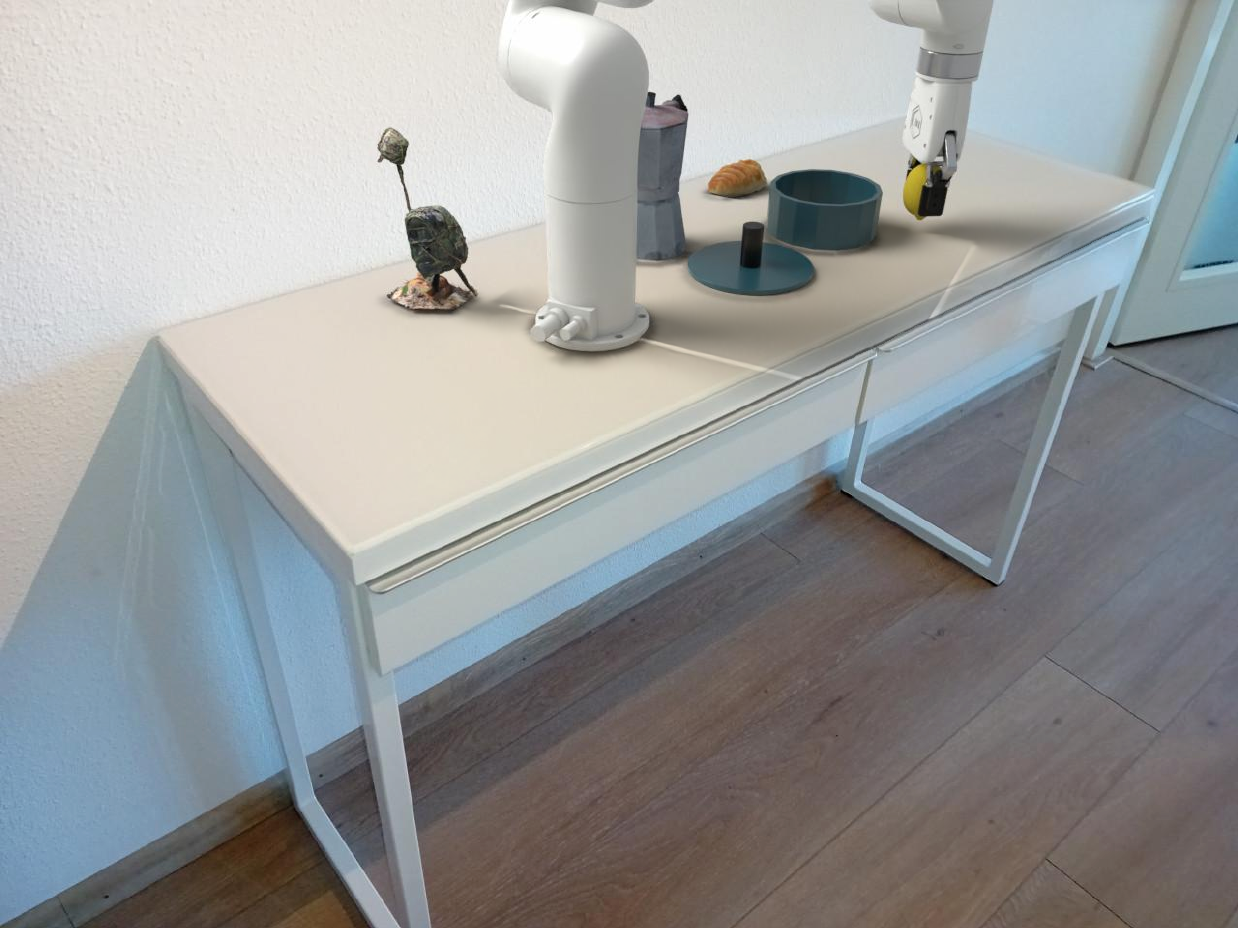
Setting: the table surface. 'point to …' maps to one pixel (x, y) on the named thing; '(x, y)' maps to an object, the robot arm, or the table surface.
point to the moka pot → (660, 179)
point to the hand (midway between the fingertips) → (922, 205)
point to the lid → (750, 265)
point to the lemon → (915, 188)
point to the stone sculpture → (428, 244)
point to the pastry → (738, 179)
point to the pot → (823, 209)
